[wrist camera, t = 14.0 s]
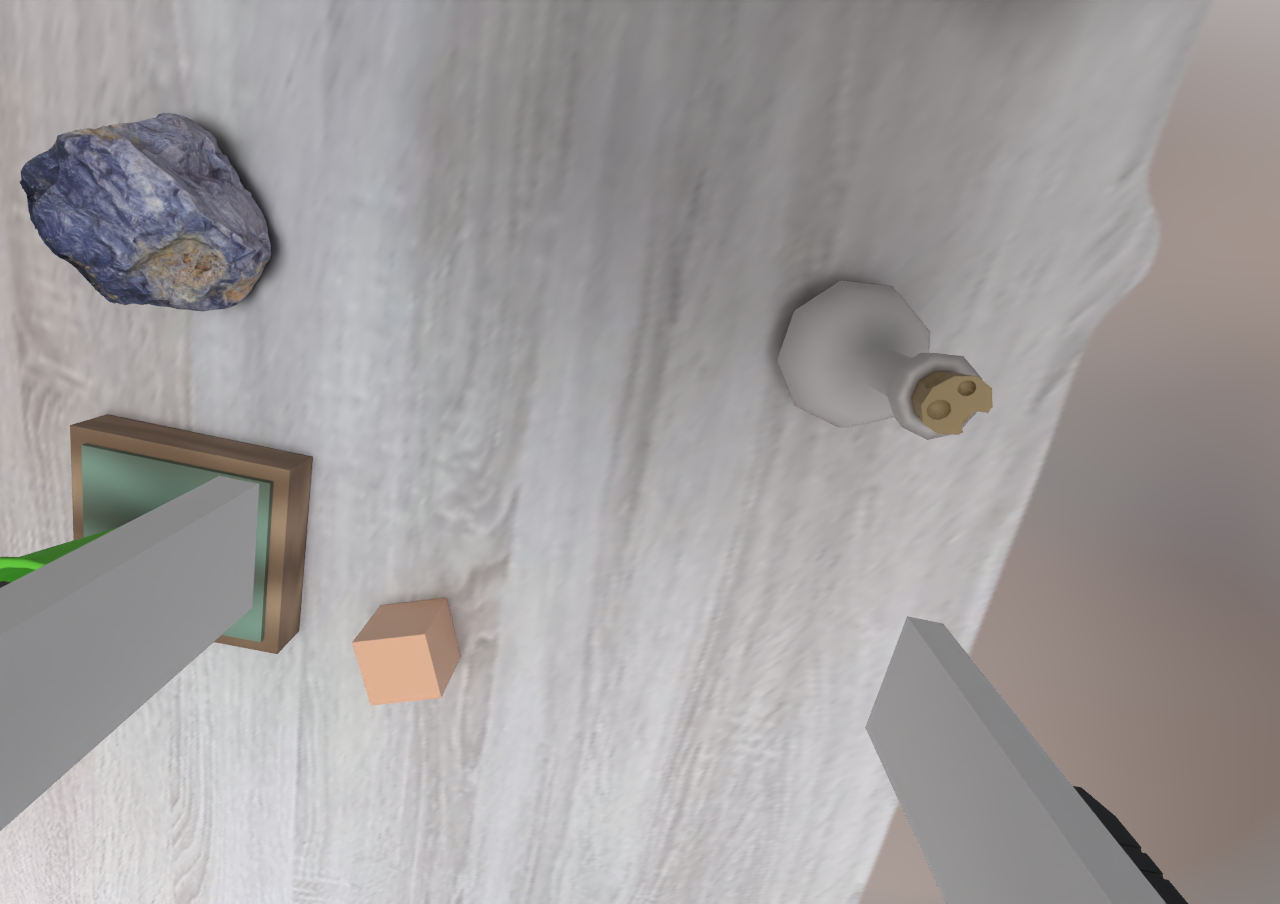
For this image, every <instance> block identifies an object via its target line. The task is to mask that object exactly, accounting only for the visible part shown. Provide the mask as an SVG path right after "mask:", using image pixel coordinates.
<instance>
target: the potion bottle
mask: <svg viewBox="0 0 1280 904" xmlns="http://www.w3.org/2000/svg"><path fill="white" fill-rule="evenodd" d="M929 343H930V331H929V329H928V328H927V327H926V326H925V325H924V323H923V322H922V321H921V320H920V319H919V317H918V316H917V315H916V314H915V313H914V311H913V310H912V309H911V308H910V307H909V305H908V304H907V303H906V302H905V301H904V299H903V298H902V297H901V296H900V295H899V293H898V292H897V291H896V290H895V289H894V287H893V286H887V285H878V284H869V283H860V282H851V281H842V280H840V281H839V282H837V283H836V284H834V285H833V286H831V287H830V288H828V289H826V290H825V291H823V292H822V293H820V294H819V295H817V296H816V297H814V298H813V299H811V300H810V301H808V302H807V303H805V304H804V305H802V306H800V307H799V308H797V309H796V310H795V311H794V313H793V316H792V319H791V322H790V324H789V327H788V330H787V333H786V336H785V339H784V342H783V345H782V347H781V350H780V353H779V356H778V360H777V361H778V363H779V366H780V368H781V371H782V373H783V376H784V379H785V381H786V384H787V386H788V389H789V392H790V394H791V397H792V399H793V402H794V405H795V406H797V407H799V408H801V409H803V410H805V411H807V412H809V413H811V414H813V415H815V416H817V417H819V418H821V419H823V420H825V421H827V422H829V423H831V424H833V425H835V426H837V427H853V426H857V425H861V424H866V423H870V422H874V421H879V420H883V419H887V418H892V417H895V418H896V420H897V421H898V422H899V424H900V425H901V426H902V427H903V428H905V429H907V430H909V431H911V432H913V433H915V434H917V435H919V436H921V437H923V438H925V439H927V440H929V439H933V438H937V437H942V436H946V435H951V434H960V433H962V432H963V431H962V428H963V427H964V426H965V425H966V423H967V422H968V421H969V420H970V419H971V418H972V417H973V416H974V415H975V413H976V412H977V411H979V412H987V413H988V412H989V411H990V409H991V408H992V388H991V387H990V386H988V385H987V384H986V383H985V382H983V381H982V378H981V377H980V376H979V375H978V374H977V372H976V371H975V370H974V369H973V367H972V366H971V365H970V364H969V363H968V361H967V360H966V359H965V358H964V357H963V356H955V355H946V354H937V353H929Z"/></svg>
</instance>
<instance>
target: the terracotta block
mask: <svg viewBox="0 0 1280 904" xmlns="http://www.w3.org/2000/svg"><path fill="white" fill-rule="evenodd" d="M352 643H353V647H354V650H355V654H356V657H357V660H358V664H359V667H360V671H361V674H362V677H363V681H364V684H365V688H366V691H367V694H368V698H369V701H370V705H379V704H388V703H398V702H407V701H416V700H425V699H434V698H441V697H442V695H443V693H444V691H445V689H446V687H447V685H448V682H449V680H450V678H451V676H452V674H453V672H454V670H455V668H456V665H457V663H458V661H459V659H460V657H461V655H460V651H459V647H458V643H457V639H456V634H455V630H454V626H453V622H452V618H451V614H450V610H449V606H448V601H447V598H439V599H430V600H422V601H413V602H405V603H396V604H387V605H381V606H380V607H379V608H378V609H377V611H376V612H375V613H374V615H373V616H372V617H371V619H370V620H369V621H368V623H367V624H366V625H365V626H364V628H363V629H362V630H361V632H360V633H359V634H358V636H357V637H356V638H355V639H354V641H353V642H352Z"/></svg>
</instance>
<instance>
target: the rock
mask: <svg viewBox="0 0 1280 904" xmlns="http://www.w3.org/2000/svg"><path fill="white" fill-rule="evenodd" d="M21 178H22V180H21V182H20V184H21V185H22V188H23V189H24V191H25V192H26V194H27V199H28V201H27V202H28V208H29V210H28V211H29V213H30V219H31V221H32V222H33V224H34V226H35V229H37V230H38V233H39V235H40V236H41V238H42V240H43V241H44V243H45V244H46V245H47V246H48V247H49V248H50V249H51V251H52V252H53V253H54V254H55V255H57V256H58V257H59V258H62V259H64V260H66V261H68V262H69V263H70V264H72V265H73V266H74V267H75V268H77V270H78V271H79V272H80V273H81V274H82V275H83V276H84V277H85V278H86V279H87V281H89V283H90V284H91V285H92V286H93V287H94V288H95V290H97V291H98V292H99V293H100V294H101V295H102V296H104V297H105V298H106V299H107V300H108V301H109V302H112V303H116V302H117V303H119V304H123V305H127V304H140V305H144V304H151V305H156V306H163V307H172V308H176V309H188V310H196V311H208V310H214V309H225V308H229V307H232V306H234V305H237V304H238V303H240V302H241V301H242V300H244V299H245V298H246V297H247V296H248V294H249V293H250V292H251V290H252V288H253V285H254V284H255V283H256V282H257V281H258V279H259V277H260V276H261V274H262V272H263V269H264V267H265V265H266V263H267V262H268V261H269V260H270V257H271V245H270V241H269V237H268V228H267V224H266V220H265V218H264V215H263V213H262V211H261V210H260V208H259V207H258V205H257V204H256V202H255V201H254V199H253V198H252V197H251V194H252V193H250V192H249V191H247V190H246V189H245V188H244V187H243V185H242V184H241V182H240V179H239V176H238V174H237V172H236V170H235V169H234V168H233V167H232V166H231V164H230V161H229V159H228V157H227V156H226V155H224V154H223V153H222V152H221V150H220V149H219V147H218V145H217V142H216V138H215V137H214V136H213V135H212V134H211V132H209V131H206V130H204V129H203V128H202V127H201V126H200V125H199V124H197V123H196V122H194V121H192V120H190V119H188V118H186V117H183V116H181V115H177V114H170V113H162V114H159V115H158V116H157V118H151V119H147V120H143V121H140V122H134V123H126V124H114V125H109V126H108V127H106V126H102V127H100V128H98V129H95V130H94V129H90V128H88V129H81V130H75V131H72V132H68V133H64V134H61V135H58V137H57V140H56V142H55V144H54V145H53V146H52V147H51V148H50V149H49V150H48V151H46V152H44V153H42V154H39V155H37V156H36V157H34V158H33V159H31V160H30V161H28V162H27V163H26V164H25V165H24V166H23V168H22V171H21Z"/></svg>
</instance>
